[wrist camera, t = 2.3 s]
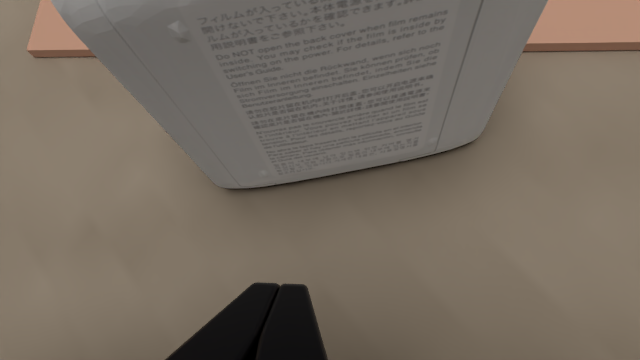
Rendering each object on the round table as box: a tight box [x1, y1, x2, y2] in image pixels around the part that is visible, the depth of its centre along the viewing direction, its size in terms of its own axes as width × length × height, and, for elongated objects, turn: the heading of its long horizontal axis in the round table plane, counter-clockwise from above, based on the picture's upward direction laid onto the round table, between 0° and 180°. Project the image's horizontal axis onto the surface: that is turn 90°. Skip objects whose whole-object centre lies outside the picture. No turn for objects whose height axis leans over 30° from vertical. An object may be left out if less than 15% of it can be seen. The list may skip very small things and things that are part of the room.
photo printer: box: [51, 0, 548, 188], centre depth 13 cm, size 10×4×12 cm, turn 100°
